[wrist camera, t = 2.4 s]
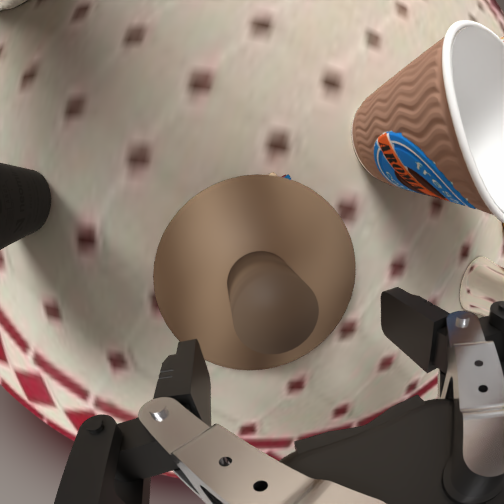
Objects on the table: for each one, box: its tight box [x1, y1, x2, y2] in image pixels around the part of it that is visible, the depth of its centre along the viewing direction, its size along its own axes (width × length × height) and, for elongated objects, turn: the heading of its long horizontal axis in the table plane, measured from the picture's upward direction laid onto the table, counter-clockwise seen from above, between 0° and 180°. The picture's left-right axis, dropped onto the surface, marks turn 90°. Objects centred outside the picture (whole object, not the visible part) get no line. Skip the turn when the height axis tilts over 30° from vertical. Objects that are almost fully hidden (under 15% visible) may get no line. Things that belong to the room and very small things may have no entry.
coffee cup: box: [351, 20, 504, 223], centre depth 14 cm, size 10×10×12 cm
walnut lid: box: [153, 175, 355, 370], centre depth 16 cm, size 13×13×6 cm
